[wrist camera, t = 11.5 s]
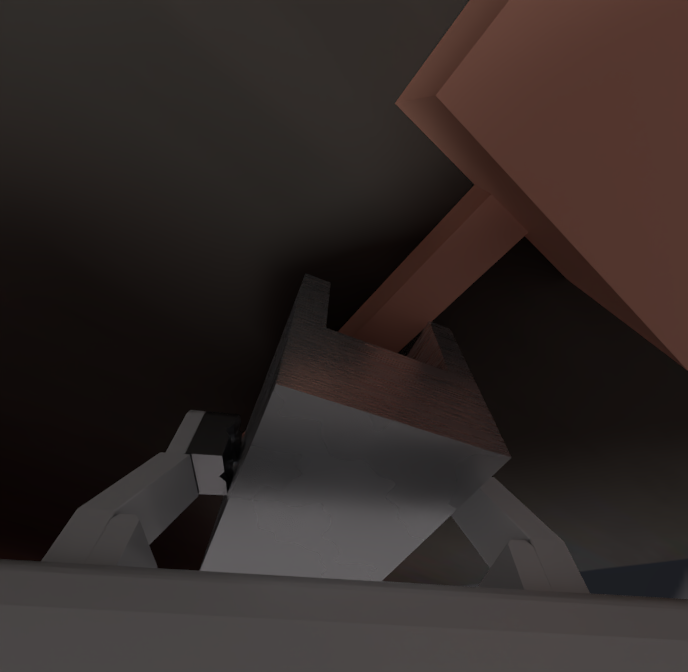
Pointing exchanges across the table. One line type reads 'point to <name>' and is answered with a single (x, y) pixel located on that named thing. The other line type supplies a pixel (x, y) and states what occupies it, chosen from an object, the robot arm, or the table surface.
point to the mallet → (555, 161)
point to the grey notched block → (352, 452)
